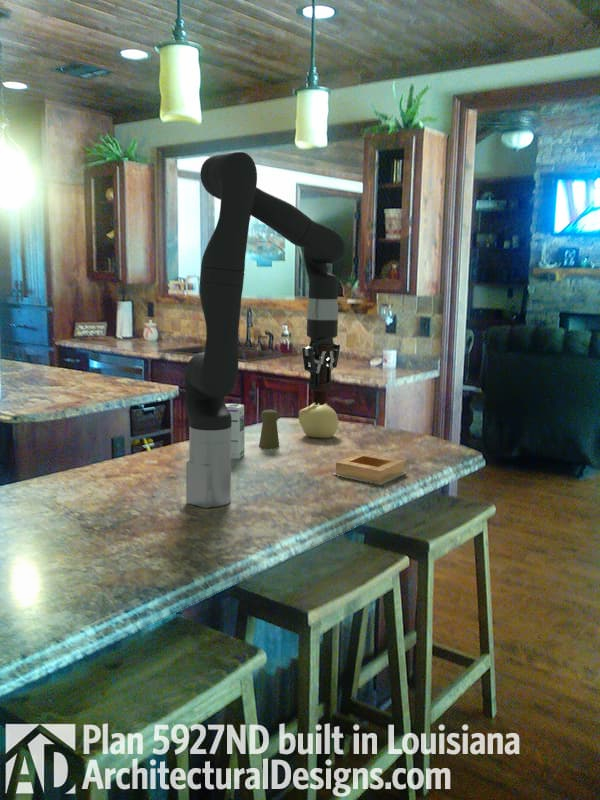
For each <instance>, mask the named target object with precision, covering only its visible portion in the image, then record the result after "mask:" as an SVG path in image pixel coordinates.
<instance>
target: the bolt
mask: <svg viewBox="0 0 600 800" xmlns="http://www.w3.org/2000/svg"><path fill="white" fill-rule="evenodd" d="M323 350H324V351H326V353H325V356H324V361H323V364H322V365H321V367H320V371H319V388H317V389H315V388H311V387H310V386H309V389H310V390H311V391H313V397H312V398H313V399H312V400H313V403H315V404H316V405H318V404H320V405H324V404H326V402H327V400H326V399H327V392H328V391H330V390H331V385H330V384H329V383H328V382H327V380H326V378H327V376H326V375H327V372H326V371H327V358H328V351H333V345H332V344H324V345H320V351H323ZM314 351H315V350H314ZM314 360H319V359H314ZM316 365H317V364H315V368H316Z"/></svg>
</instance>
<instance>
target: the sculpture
mask: <svg viewBox="0 0 600 800" xmlns="http://www.w3.org/2000/svg"><path fill="white" fill-rule="evenodd" d="M298 422H299V424H300V426H301V429H302V431H303V433H304V434H305V436H307V437H310V438H322V439H328V438H329V439H330V438H332V437H334V436H335V434H336V433H337V431H338V429H339V426H340V425H339V424H340V421H339V417H338V414H337V412H336V410H334V408H332V407H331V405H328V403H325V404H324V405H320V404H319V403H318V405H316V404H315V402H312V403H311V404H310V405H309V406H306V407H305V408H302V409H300V410H299V411H298Z"/></svg>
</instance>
